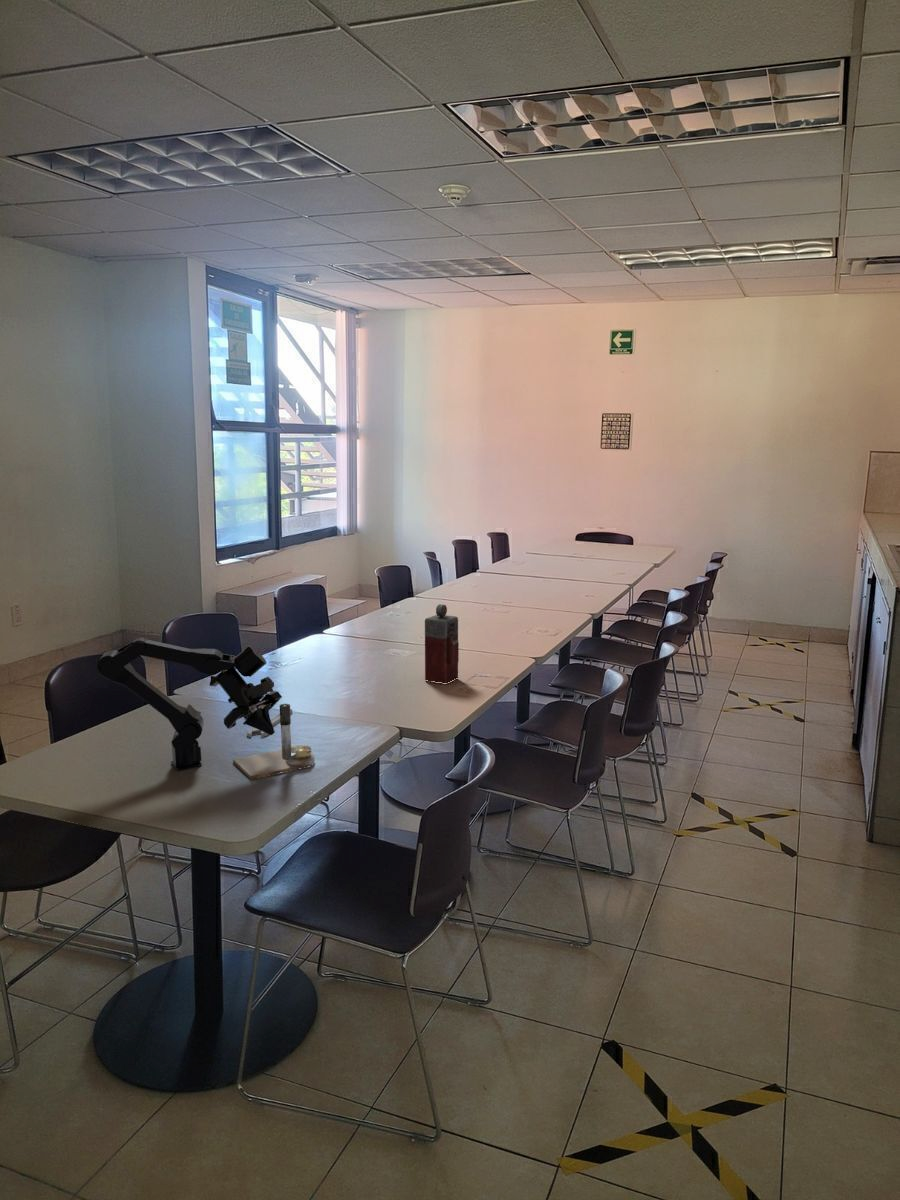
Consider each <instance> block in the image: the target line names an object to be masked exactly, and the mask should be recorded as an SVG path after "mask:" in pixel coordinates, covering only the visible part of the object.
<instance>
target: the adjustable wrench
mask: <svg viewBox="0 0 900 1200" xmlns="http://www.w3.org/2000/svg"><path fill="white" fill-rule="evenodd" d="M292 714H293V708H290V715H291V716H292ZM270 720H271V723H272V725H273V727H275V726H277V725H278V724H280V712H279V713H278V714H276V715H275V716H274V717H273V718H270ZM254 734H255V735H261V737H260V738H264V736H265V737H268V736H270V735H269V734H267V733H265V732H263V731H261V730H258V729H256V728H254V727H252V728H249V729H248V730H247V731H246V736H247V738H249V737H253V736H254ZM267 735H268V736H267Z"/></svg>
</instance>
